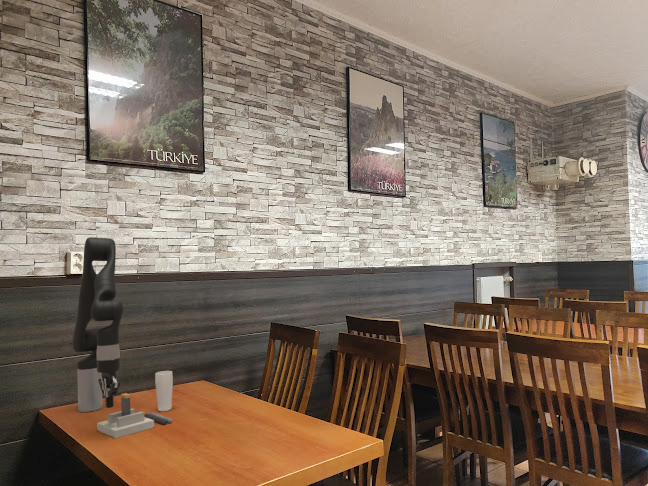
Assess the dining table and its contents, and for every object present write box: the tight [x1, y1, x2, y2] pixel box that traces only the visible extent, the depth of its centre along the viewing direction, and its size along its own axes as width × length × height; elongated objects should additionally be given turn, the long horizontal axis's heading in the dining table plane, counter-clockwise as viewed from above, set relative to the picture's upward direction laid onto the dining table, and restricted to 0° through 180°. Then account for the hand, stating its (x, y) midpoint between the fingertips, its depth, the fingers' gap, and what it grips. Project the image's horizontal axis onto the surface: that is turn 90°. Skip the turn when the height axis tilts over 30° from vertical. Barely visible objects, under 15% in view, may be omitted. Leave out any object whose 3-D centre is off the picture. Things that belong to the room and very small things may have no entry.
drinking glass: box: [154, 370, 174, 412], centre depth 199 cm, size 7×7×15 cm
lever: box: [120, 392, 131, 417], centre depth 176 cm, size 5×2×9 cm, turn 47°
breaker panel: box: [96, 408, 155, 439], centre depth 176 cm, size 15×14×6 cm
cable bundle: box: [144, 411, 173, 425], centre depth 185 cm, size 16×4×2 cm, turn 47°
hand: (109, 407), depth 172 cm, fingers closed
